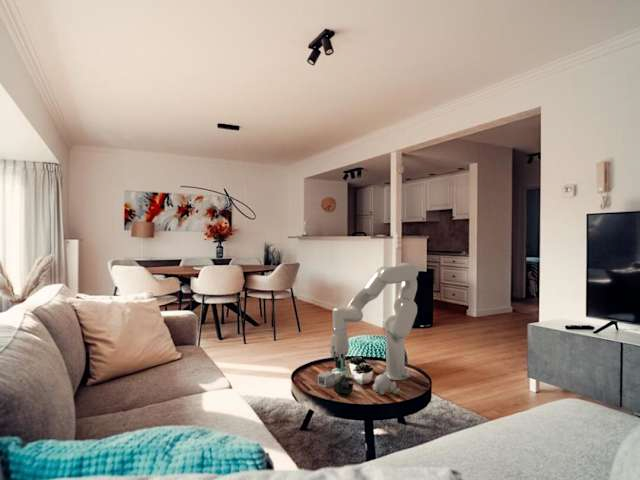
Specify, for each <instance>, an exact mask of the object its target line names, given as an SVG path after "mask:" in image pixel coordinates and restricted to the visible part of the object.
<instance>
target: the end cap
mask: <svg viewBox="0 0 640 480" xmlns="http://www.w3.org/2000/svg"><path fill="white" fill-rule="evenodd" d="M351 382H354V377H345V375H342V376H341V377H340V378H339V379H338V380H335V384H333V385H332V386H333V389H332V390H333V391H334V393H335V394H336V395H338V396H339V397H343V398H344V397H345V398H349V397H350V396H351V394H352V392H353V391H354V383H351Z"/></svg>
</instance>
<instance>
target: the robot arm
mask: <svg viewBox="0 0 640 480" xmlns="http://www.w3.org/2000/svg"><path fill="white" fill-rule="evenodd" d="M418 275H419V269H418V267H417V266H416V265H415V264H413V263H410V262H409V263H408V262H401V263H398V264H397V266H396V265H395V266H380V267H379V268H378V269H377V270H376V271H375V272H374V274H373V275H372V276H371V278H370V279H369V280H368V281H367V283H366V285H364V287H362V289H360V290H359V292H358V293H356V295H354V297H353V298H352V300H350V302H349V303H348V304H347V306H346V307H344V306H338V307H333V309H332V334H331V338H330V351H329V352H330V354H331V355H330V357H331V358H333V359H334V361H335V362H334V363H335V364H334V365H335V368H339V369H340V368H341V361H340V358H344V367H346V362H345V361H346V357H347V355H348V354H349V352H350V351H349V349H350V347H349V343H350V342H349V334H348V323H359V322H361V321H362V320H363V318H364V314H363V311H362V310H363V309H364V307H365V306H366V305H367V304H368V303H370V302H371V301H373V300H375V299H377V298H378V297H379V296H380V294H381V293H382V292H383V290H384V289H385V288H386V286H387V285H392V284H399V283H400V287H399V290H398V292H397V296H396V299H395V300H394V303H393V309H394V311H395V312H396V314H395V315H390V316H388V317H387V318H386V320H385V322H384V330H385V358H386V359H385V360H386V361H385V364H386V366H385V367H386V368H385V371H384V372H383V373H382V374H384V375H386V376H388V377H389V379H390V381H391V380H392V381H404V380H407V379H408V378H411V376H412V375H411V374H412V372H410V371H407V368H406V367H405V354H406V353H405V348H406V347H405V345H406V344H405V338H406V337H407V336H408V335H409V334H410V333H411V330H412V328H413V325H414V322H415V320H416V317H417V314H418V305H417V304H416V302H415V301H414V300H415V297H416V293H417V291H418V280H417V277H418Z"/></svg>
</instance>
